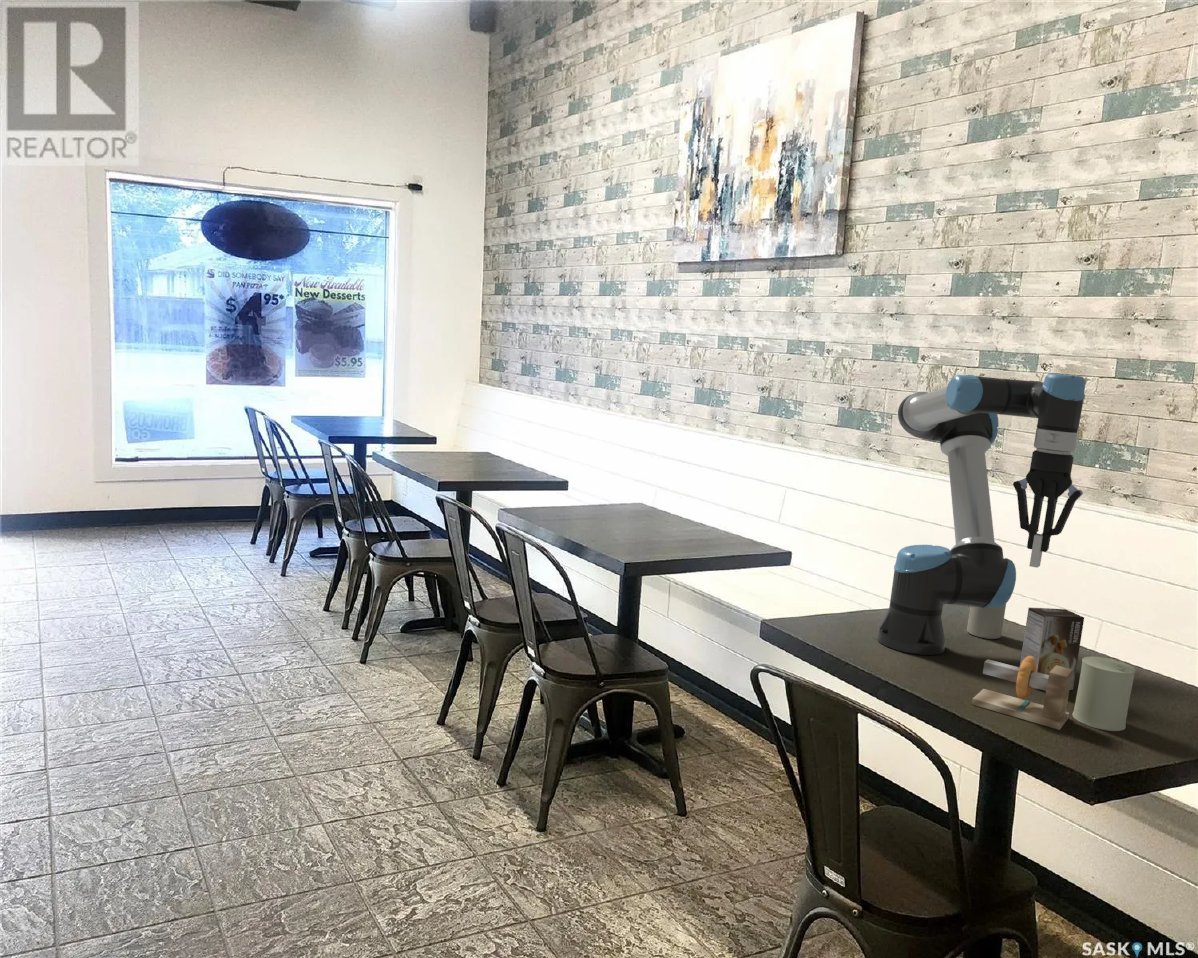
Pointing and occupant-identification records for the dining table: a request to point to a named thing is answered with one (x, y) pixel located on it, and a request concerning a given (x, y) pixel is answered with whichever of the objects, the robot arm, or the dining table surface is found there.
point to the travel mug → (986, 622)
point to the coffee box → (1053, 639)
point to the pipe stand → (1044, 714)
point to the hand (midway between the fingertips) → (1034, 565)
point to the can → (1104, 693)
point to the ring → (1025, 677)
